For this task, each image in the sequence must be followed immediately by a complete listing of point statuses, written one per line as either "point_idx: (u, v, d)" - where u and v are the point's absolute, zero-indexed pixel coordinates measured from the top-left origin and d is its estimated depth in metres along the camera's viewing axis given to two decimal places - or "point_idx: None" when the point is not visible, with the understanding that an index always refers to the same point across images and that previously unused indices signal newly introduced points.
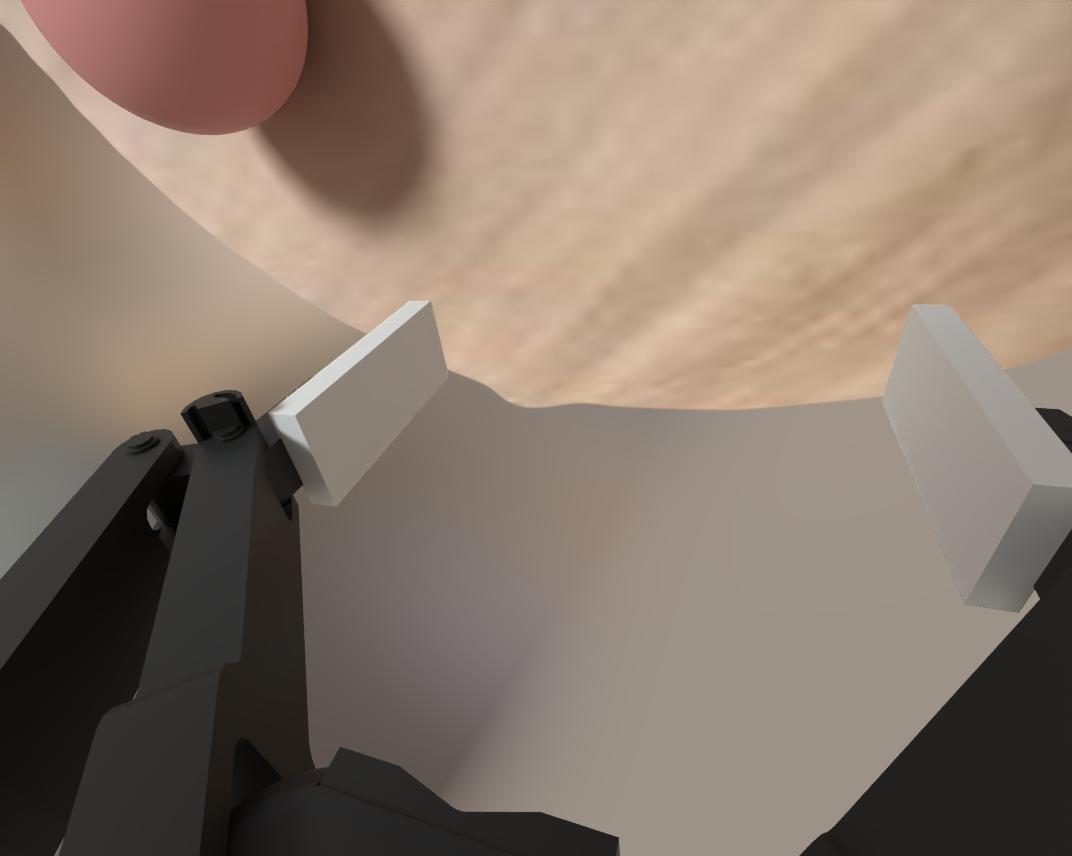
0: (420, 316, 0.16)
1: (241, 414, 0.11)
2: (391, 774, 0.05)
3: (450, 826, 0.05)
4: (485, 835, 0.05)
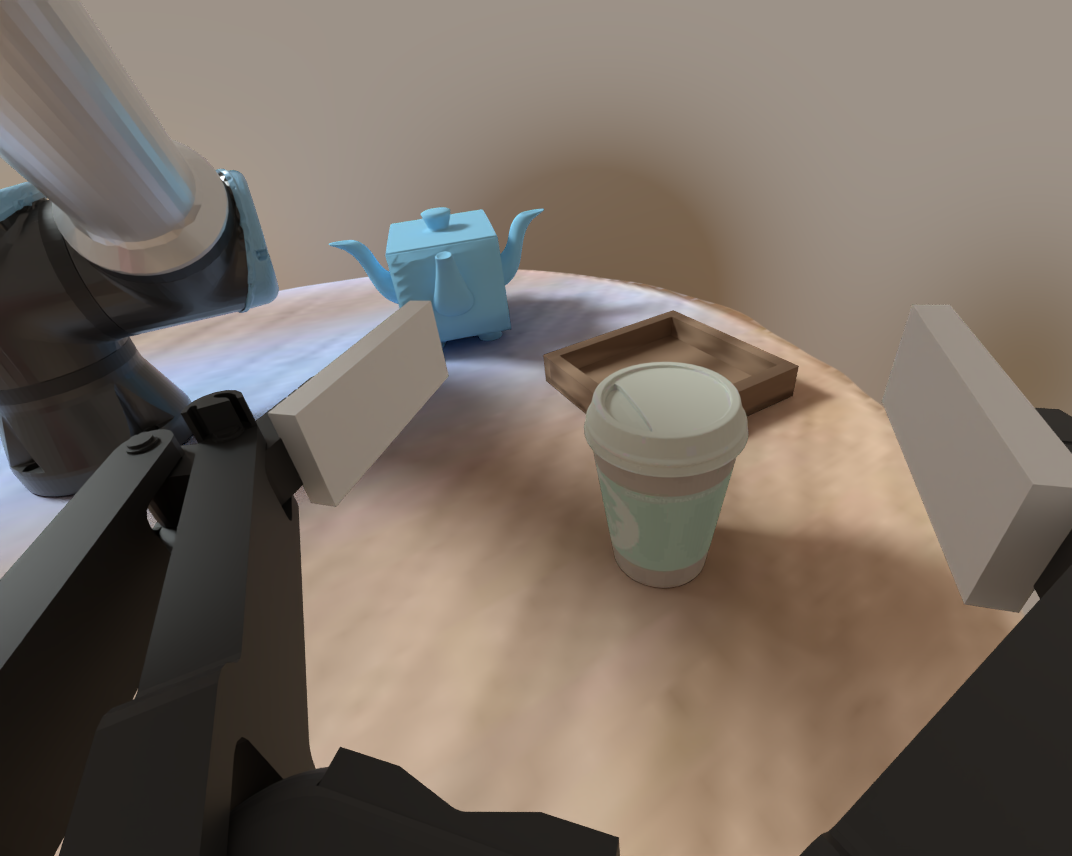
0: (420, 316, 0.16)
1: (241, 414, 0.11)
2: (391, 774, 0.05)
3: (450, 826, 0.05)
4: (485, 835, 0.05)
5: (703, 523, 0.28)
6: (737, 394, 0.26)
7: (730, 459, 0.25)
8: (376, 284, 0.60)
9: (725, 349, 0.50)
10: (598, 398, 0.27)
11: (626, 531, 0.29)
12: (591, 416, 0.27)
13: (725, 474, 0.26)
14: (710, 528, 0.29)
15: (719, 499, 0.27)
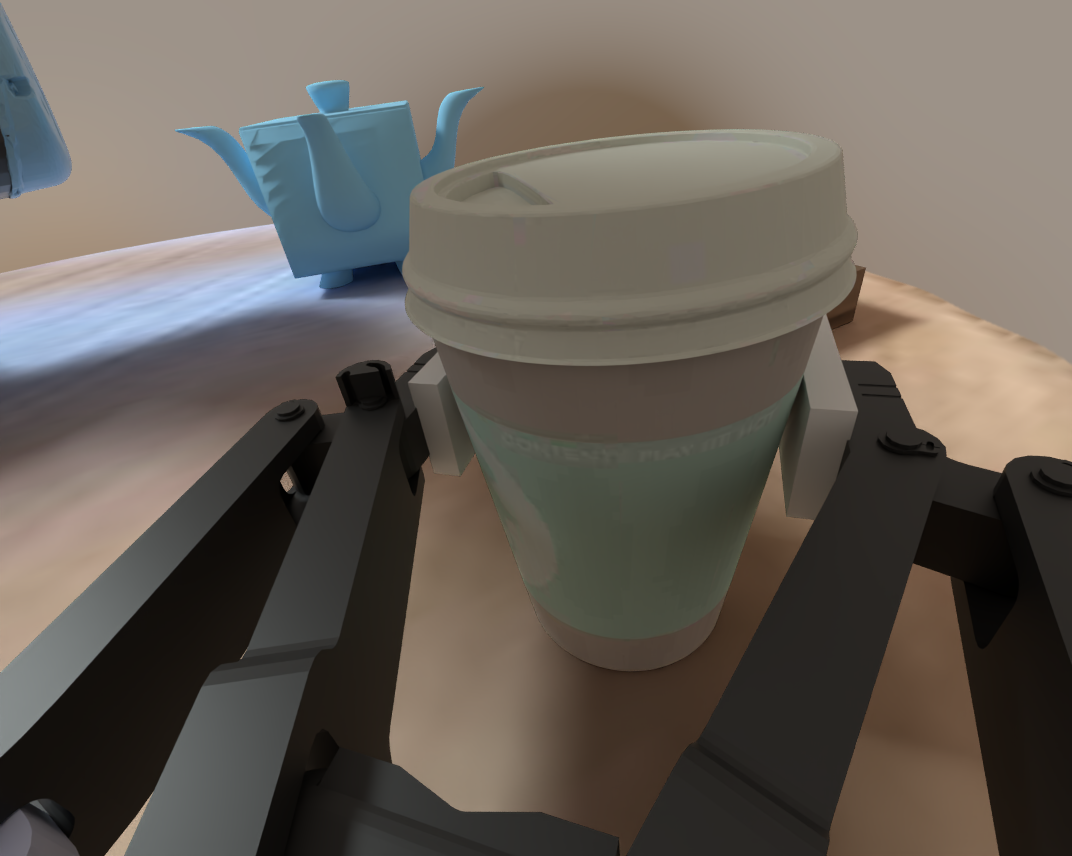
0: None
1: (387, 384, 0.12)
2: (391, 774, 0.05)
3: (451, 825, 0.05)
4: (485, 834, 0.05)
5: (721, 525, 0.10)
6: (825, 139, 0.09)
7: (817, 313, 0.08)
8: (248, 191, 0.43)
9: None
10: (432, 180, 0.10)
11: (528, 545, 0.12)
12: None
13: (790, 379, 0.09)
14: (738, 537, 0.11)
15: (766, 459, 0.10)
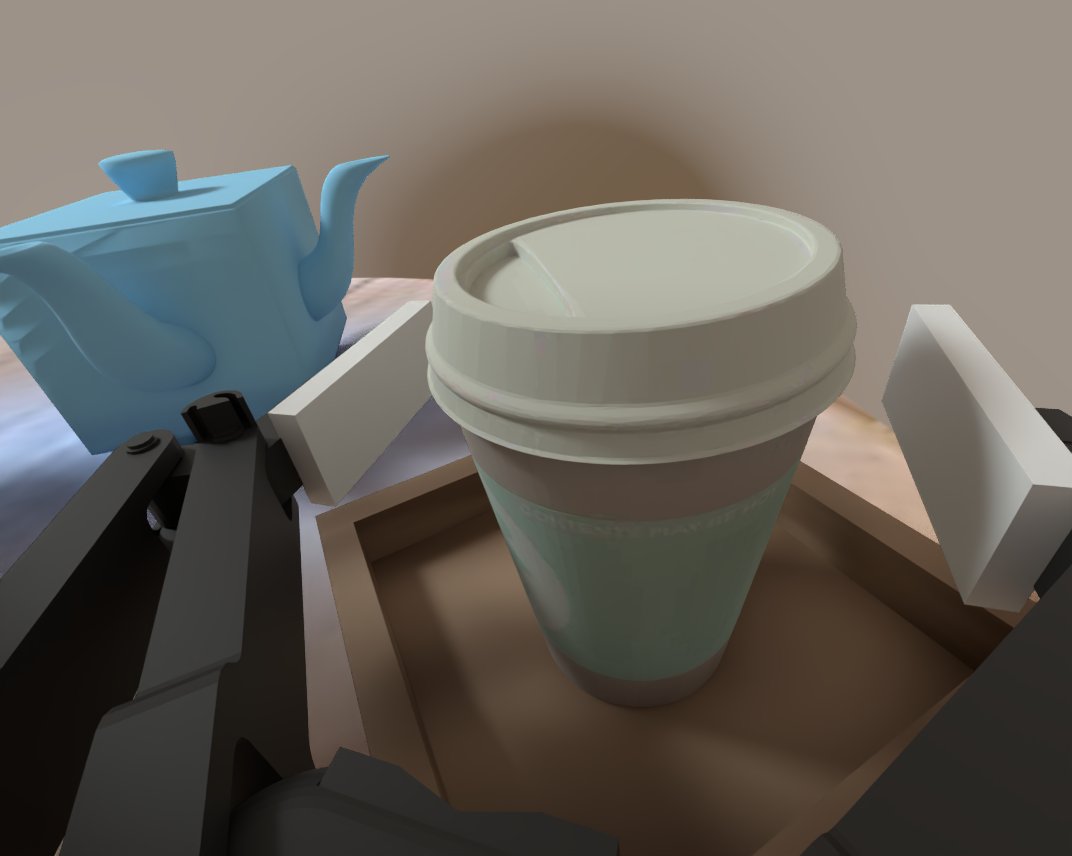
0: (420, 316, 0.16)
1: (241, 414, 0.11)
2: (391, 774, 0.05)
3: (452, 825, 0.05)
4: (485, 835, 0.05)
5: (727, 583, 0.11)
6: (826, 231, 0.09)
7: (816, 409, 0.08)
8: None
9: (806, 513, 0.18)
10: (453, 261, 0.10)
11: (542, 596, 0.12)
12: None
13: (792, 457, 0.09)
14: (742, 590, 0.12)
15: (769, 523, 0.11)
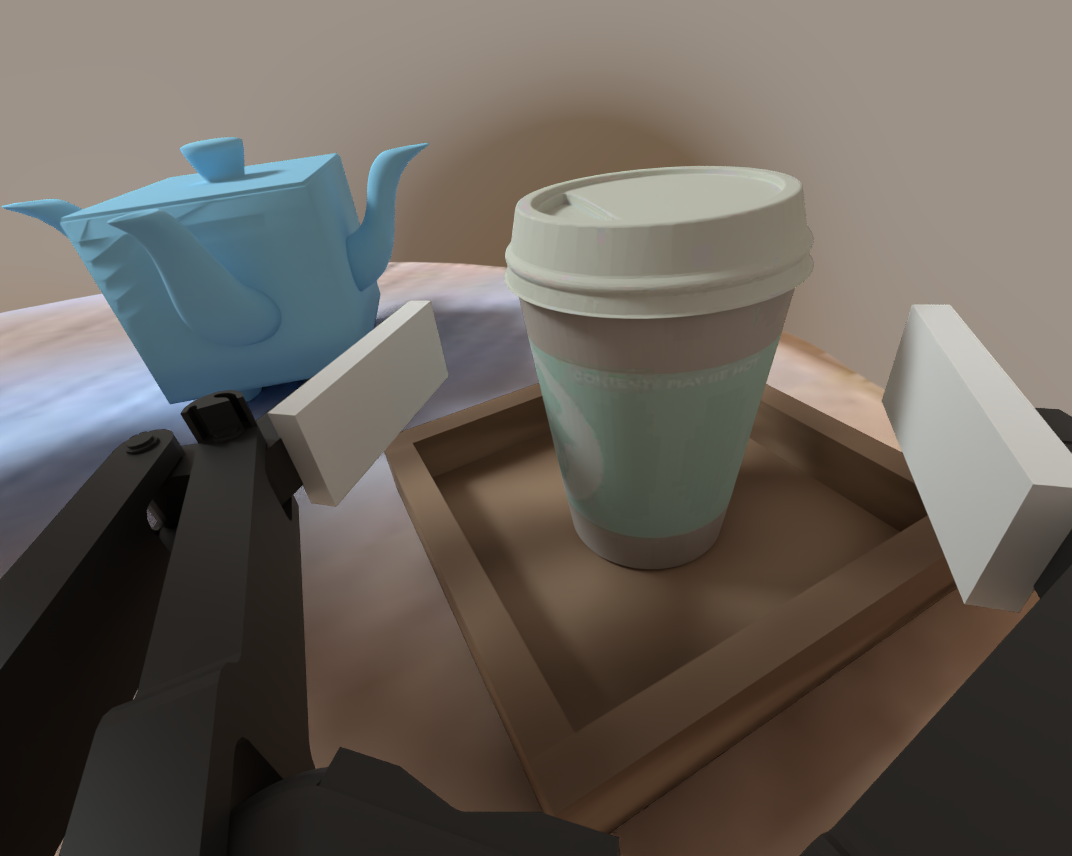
0: (420, 316, 0.16)
1: (241, 414, 0.11)
2: (391, 774, 0.05)
3: (450, 826, 0.05)
4: (485, 835, 0.05)
5: (721, 443, 0.15)
6: (794, 179, 0.13)
7: (783, 290, 0.12)
8: None
9: (788, 433, 0.22)
10: (527, 200, 0.14)
11: (581, 462, 0.16)
12: (512, 232, 0.14)
13: (768, 336, 0.13)
14: (733, 458, 0.16)
15: (753, 396, 0.15)
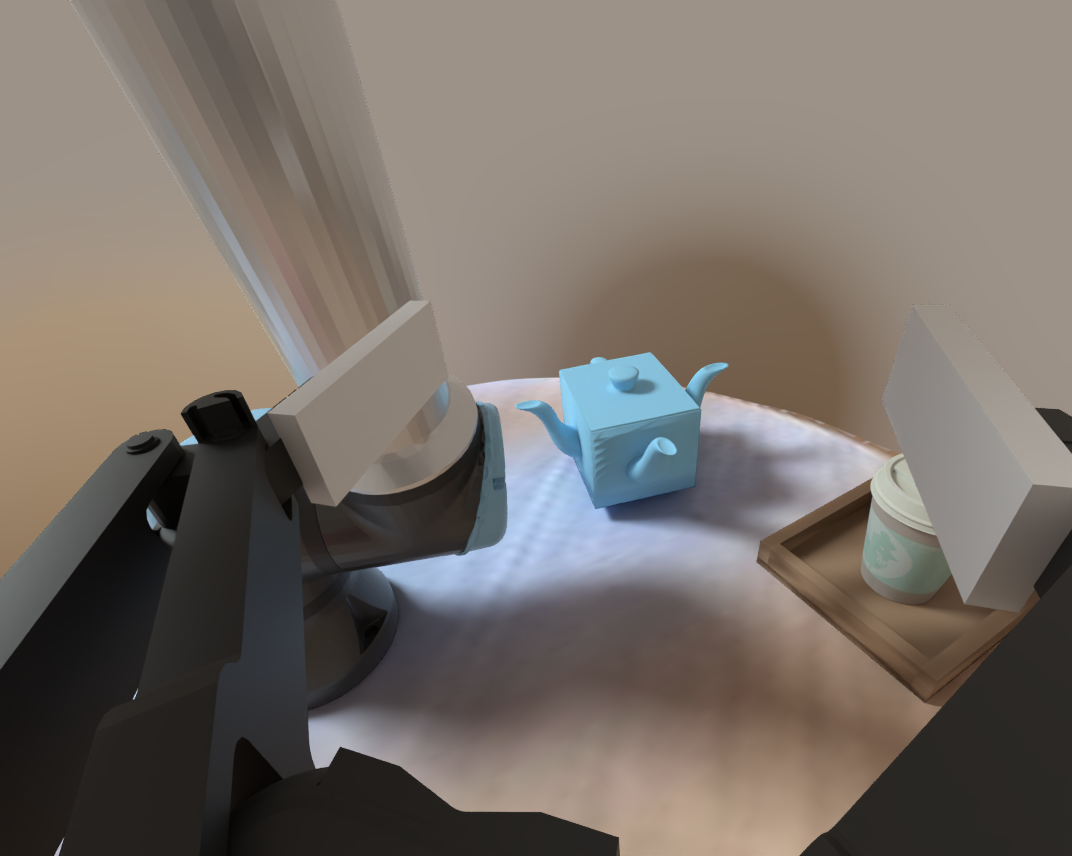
0: (420, 316, 0.16)
1: (241, 414, 0.11)
2: (391, 774, 0.05)
3: (450, 826, 0.05)
4: (485, 836, 0.05)
5: None
6: None
7: None
8: (558, 442, 0.59)
9: None
10: (892, 480, 0.41)
11: (897, 567, 0.43)
12: (887, 492, 0.41)
13: None
14: None
15: None
